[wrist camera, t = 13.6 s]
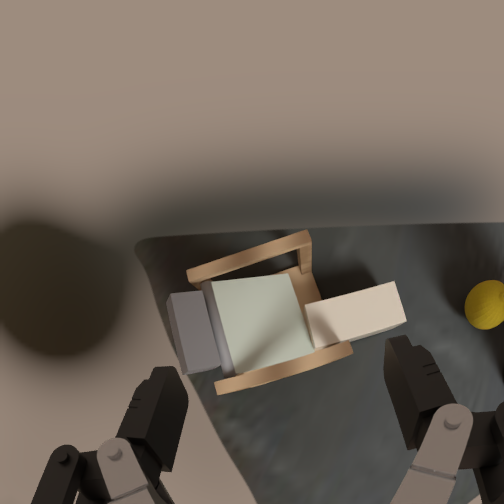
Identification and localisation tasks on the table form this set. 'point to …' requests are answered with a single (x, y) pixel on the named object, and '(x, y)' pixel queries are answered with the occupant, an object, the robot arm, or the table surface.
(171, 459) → the robot arm
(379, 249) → the table surface
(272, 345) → the door
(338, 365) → the table surface
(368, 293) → the block
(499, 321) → the lemon
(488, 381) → the table surface
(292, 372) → the frame
